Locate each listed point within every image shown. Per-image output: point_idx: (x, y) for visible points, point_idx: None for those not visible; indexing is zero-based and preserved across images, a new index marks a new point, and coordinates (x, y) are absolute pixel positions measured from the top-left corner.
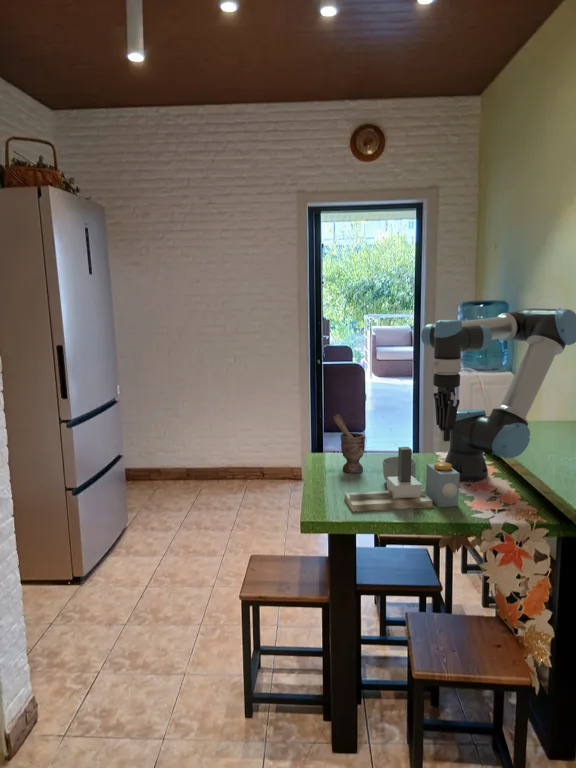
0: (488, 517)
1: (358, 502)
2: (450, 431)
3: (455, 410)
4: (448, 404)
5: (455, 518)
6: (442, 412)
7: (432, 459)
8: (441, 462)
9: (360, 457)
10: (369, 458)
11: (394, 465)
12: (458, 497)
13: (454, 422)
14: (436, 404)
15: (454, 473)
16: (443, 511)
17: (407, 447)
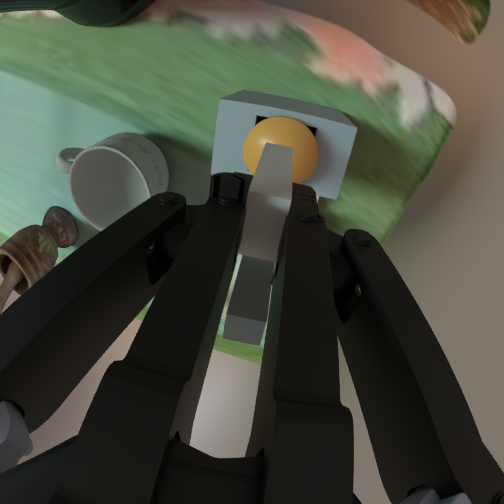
0: (427, 98)
1: (267, 320)
2: (291, 194)
3: (451, 413)
4: (391, 501)
5: (399, 172)
6: (207, 355)
7: (16, 28)
8: (250, 141)
9: (50, 236)
10: (4, 164)
11: (87, 177)
12: (342, 113)
13: (399, 289)
14: (72, 385)
15: (351, 146)
16: (354, 169)
17: (235, 320)
